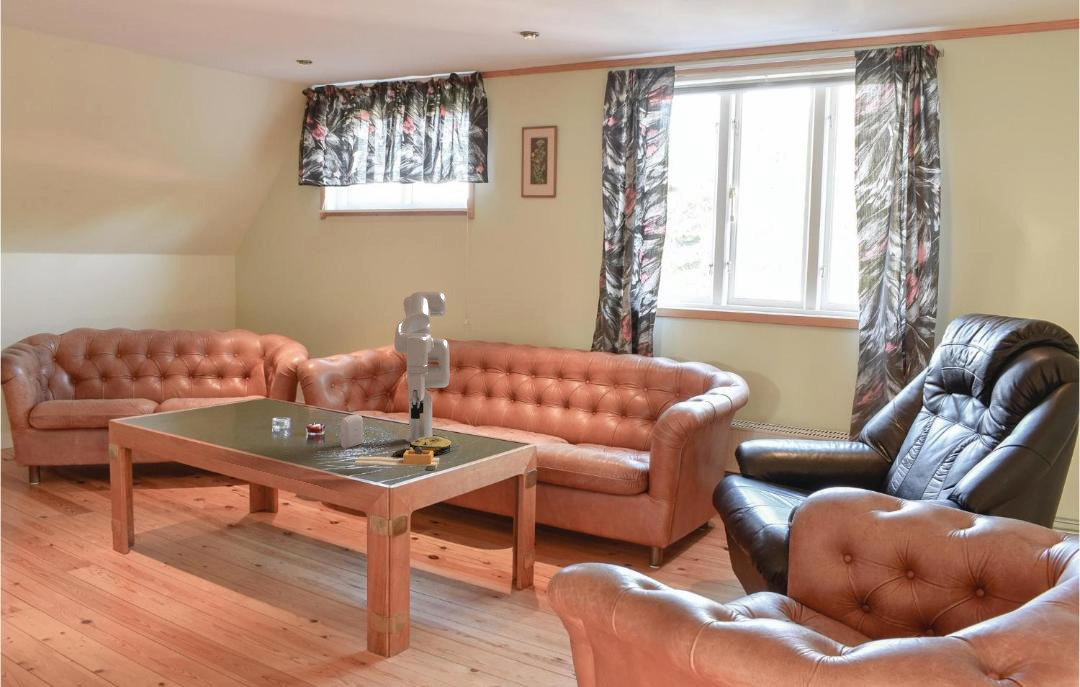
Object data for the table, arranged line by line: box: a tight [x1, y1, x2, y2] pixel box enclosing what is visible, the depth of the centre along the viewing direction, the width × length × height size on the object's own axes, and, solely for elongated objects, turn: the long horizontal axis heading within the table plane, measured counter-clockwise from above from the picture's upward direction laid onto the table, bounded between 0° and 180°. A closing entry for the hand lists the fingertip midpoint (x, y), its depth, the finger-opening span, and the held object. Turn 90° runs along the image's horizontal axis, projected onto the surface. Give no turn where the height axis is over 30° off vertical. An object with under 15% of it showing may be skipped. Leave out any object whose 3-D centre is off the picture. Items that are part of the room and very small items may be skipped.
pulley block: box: [392, 434, 459, 457], centre depth 342 cm, size 14×6×30 cm
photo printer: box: [340, 414, 364, 449], centre depth 354 cm, size 10×4×12 cm, turn 150°
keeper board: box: [352, 447, 440, 471], centre depth 324 cm, size 12×30×7 cm, turn 90°
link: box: [402, 450, 434, 464], centre depth 325 cm, size 7×10×3 cm
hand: (417, 415), depth 323 cm, fingers open, 9 cm apart
